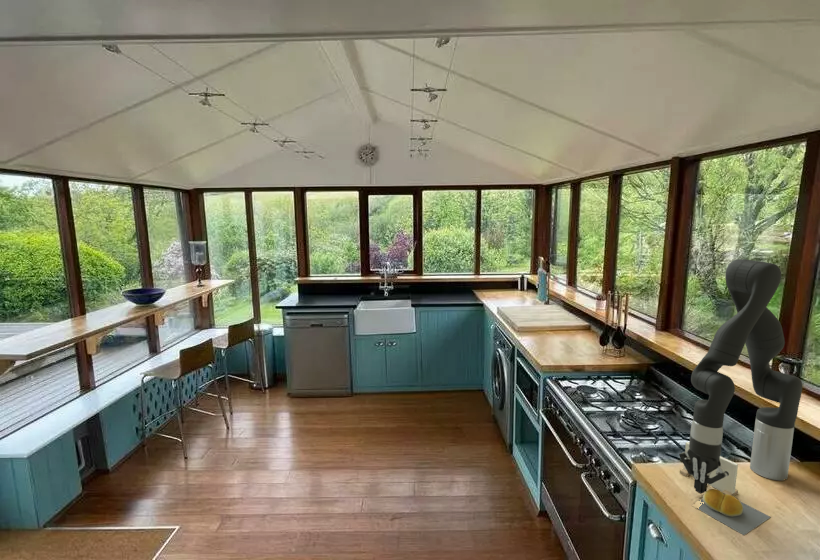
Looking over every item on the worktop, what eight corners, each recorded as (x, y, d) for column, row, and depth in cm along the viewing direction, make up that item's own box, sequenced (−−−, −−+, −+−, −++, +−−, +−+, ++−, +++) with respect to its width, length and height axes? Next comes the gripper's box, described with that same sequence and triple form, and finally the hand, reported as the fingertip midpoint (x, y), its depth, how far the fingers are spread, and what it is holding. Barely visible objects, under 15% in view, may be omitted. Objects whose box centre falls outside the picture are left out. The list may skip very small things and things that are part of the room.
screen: (688, 468, 137) (691, 440, 136) (737, 493, 125) (741, 462, 123) (679, 473, 135) (682, 444, 134) (728, 498, 123) (732, 467, 121)
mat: (718, 490, 126) (718, 489, 126) (770, 517, 115) (770, 516, 115) (691, 505, 120) (691, 504, 120) (743, 535, 109) (743, 534, 109)
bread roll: (739, 522, 113) (740, 509, 112) (699, 505, 120) (701, 493, 119) (745, 508, 119) (747, 495, 118) (707, 493, 125) (708, 480, 125)
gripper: (739, 444, 118) (732, 501, 120) (690, 424, 129) (684, 476, 132) (724, 451, 114) (717, 509, 117) (675, 429, 126) (669, 482, 128)
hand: (699, 491), depth 124 cm, fingers closed
